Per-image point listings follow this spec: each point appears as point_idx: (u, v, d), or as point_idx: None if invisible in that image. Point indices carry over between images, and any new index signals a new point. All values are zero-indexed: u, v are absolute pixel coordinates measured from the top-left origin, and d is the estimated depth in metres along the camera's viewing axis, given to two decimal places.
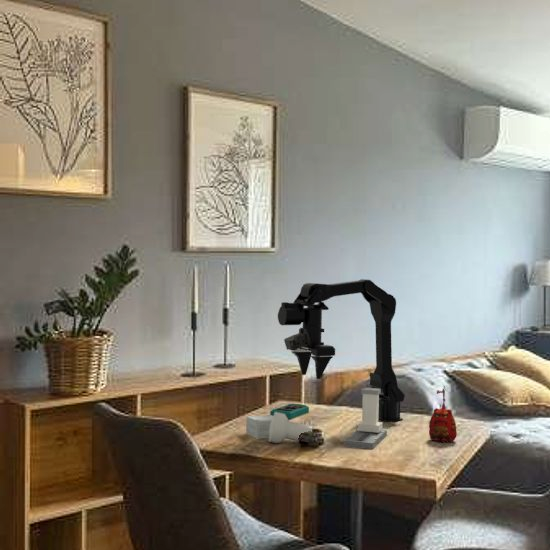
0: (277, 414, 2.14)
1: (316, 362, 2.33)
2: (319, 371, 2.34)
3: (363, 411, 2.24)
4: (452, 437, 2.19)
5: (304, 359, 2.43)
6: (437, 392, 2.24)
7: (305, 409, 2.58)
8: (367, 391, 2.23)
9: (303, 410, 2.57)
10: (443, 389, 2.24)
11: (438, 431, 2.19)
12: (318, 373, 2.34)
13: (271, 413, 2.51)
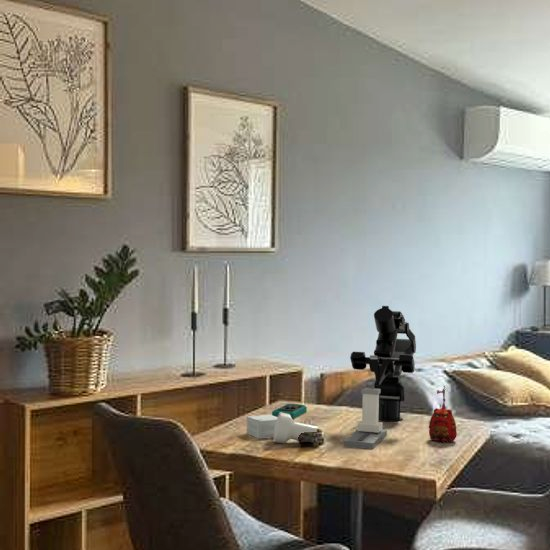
0: (282, 414, 2.14)
1: None
2: None
3: (363, 411, 2.24)
4: (452, 437, 2.19)
5: None
6: (437, 392, 2.24)
7: (304, 409, 2.59)
8: (367, 391, 2.23)
9: (302, 410, 2.58)
10: (443, 389, 2.24)
11: (438, 431, 2.19)
12: None
13: (273, 414, 2.50)
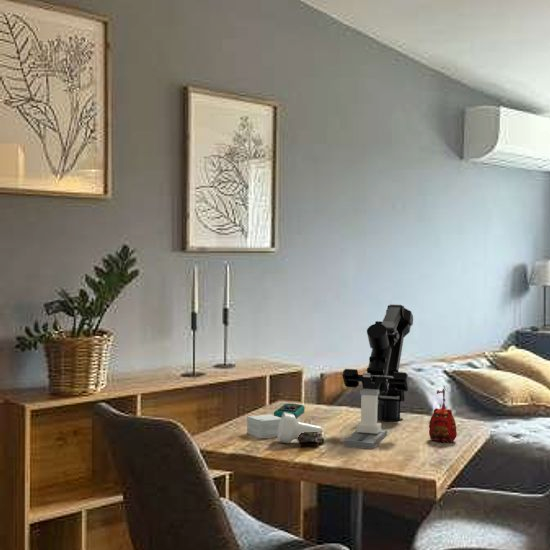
0: (286, 414, 2.14)
1: None
2: None
3: (362, 412, 2.23)
4: (452, 437, 2.19)
5: None
6: (437, 392, 2.24)
7: (302, 408, 2.59)
8: (366, 392, 2.22)
9: (301, 410, 2.58)
10: (443, 389, 2.24)
11: (438, 431, 2.19)
12: None
13: (275, 414, 2.50)
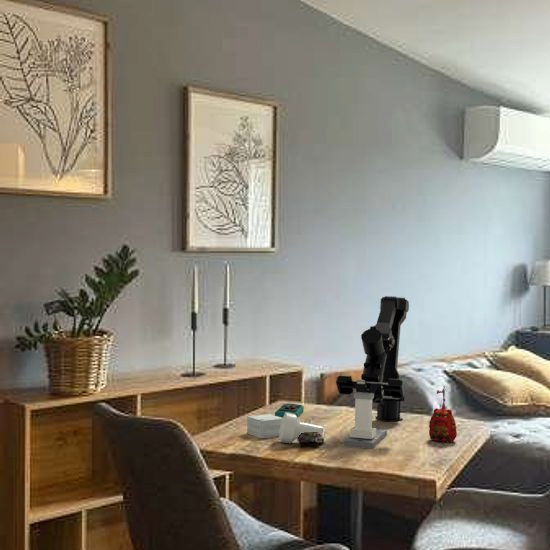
0: (288, 414, 2.14)
1: None
2: None
3: (356, 416, 2.16)
4: (452, 437, 2.19)
5: None
6: (437, 392, 2.24)
7: (302, 408, 2.59)
8: (360, 396, 2.15)
9: (301, 410, 2.58)
10: (443, 389, 2.24)
11: (438, 431, 2.19)
12: None
13: (276, 414, 2.49)
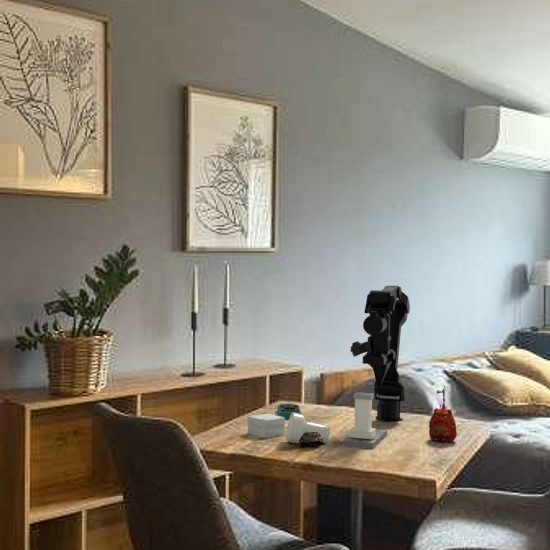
0: (295, 414, 2.14)
1: None
2: (377, 378, 2.34)
3: (355, 417, 2.15)
4: (452, 437, 2.19)
5: None
6: (437, 392, 2.24)
7: (299, 408, 2.60)
8: (360, 396, 2.15)
9: (299, 409, 2.58)
10: (443, 389, 2.24)
11: (438, 431, 2.19)
12: (376, 380, 2.34)
13: (280, 415, 2.48)
